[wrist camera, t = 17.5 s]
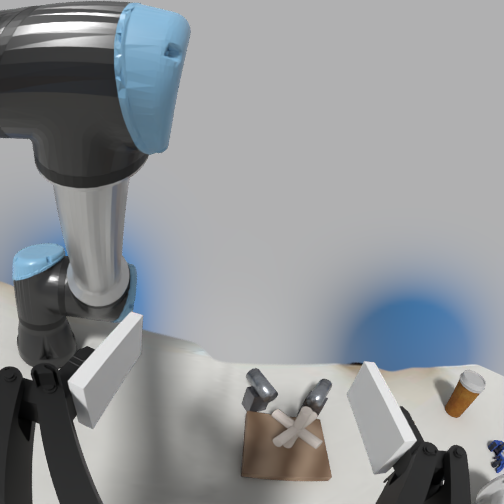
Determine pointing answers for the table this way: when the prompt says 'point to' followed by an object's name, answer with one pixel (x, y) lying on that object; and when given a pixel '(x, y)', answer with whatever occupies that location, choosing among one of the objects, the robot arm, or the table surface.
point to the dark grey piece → (318, 396)
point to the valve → (492, 492)
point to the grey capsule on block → (258, 392)
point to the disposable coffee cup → (465, 393)
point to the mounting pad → (282, 452)
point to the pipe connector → (296, 428)
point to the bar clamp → (500, 448)
